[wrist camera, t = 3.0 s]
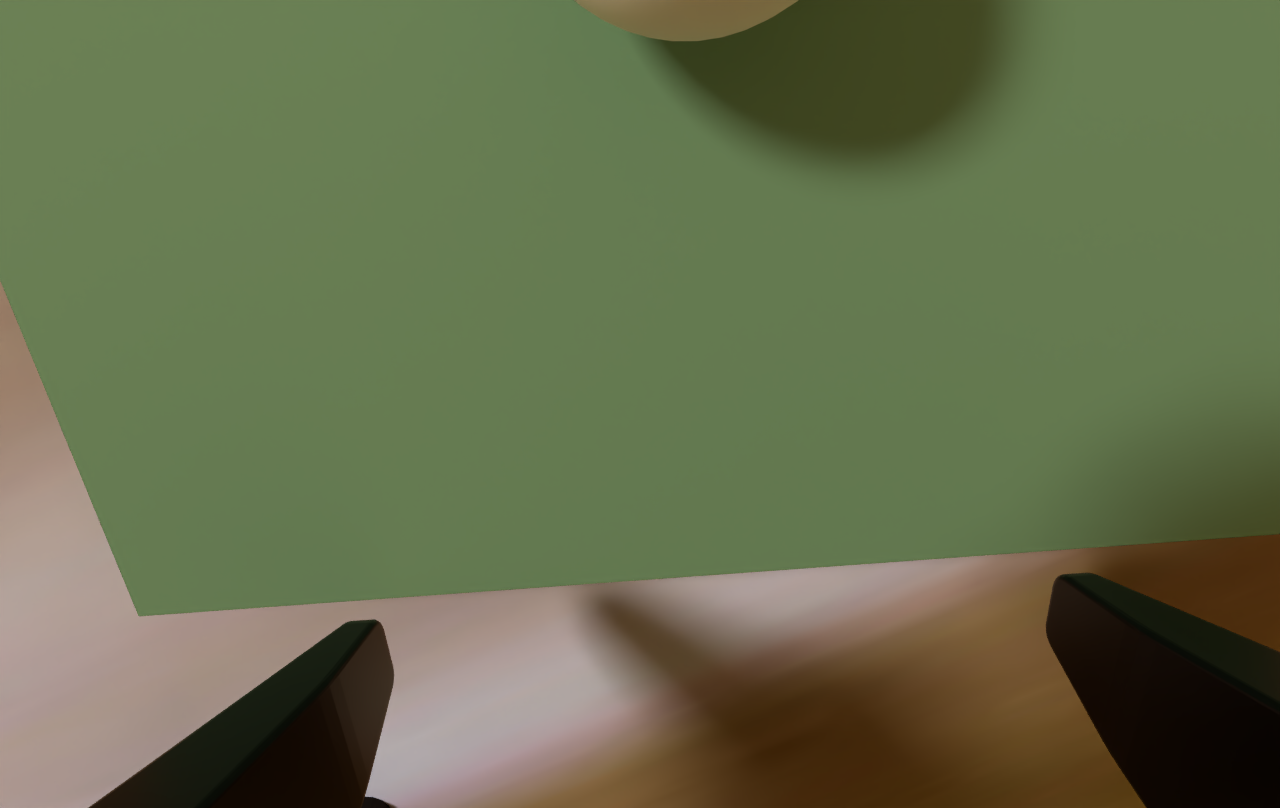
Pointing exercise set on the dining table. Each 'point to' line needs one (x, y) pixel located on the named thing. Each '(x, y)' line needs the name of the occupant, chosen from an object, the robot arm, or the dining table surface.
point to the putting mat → (641, 285)
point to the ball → (685, 16)
